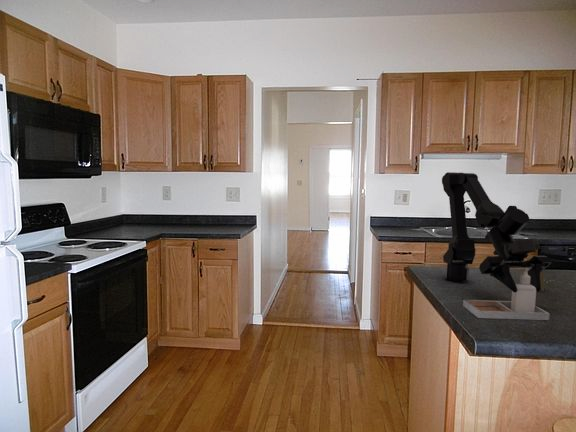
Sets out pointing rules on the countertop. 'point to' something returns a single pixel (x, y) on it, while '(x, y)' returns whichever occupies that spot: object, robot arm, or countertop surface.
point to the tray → (501, 310)
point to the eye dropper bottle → (524, 295)
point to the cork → (540, 277)
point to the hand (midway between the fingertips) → (527, 291)
